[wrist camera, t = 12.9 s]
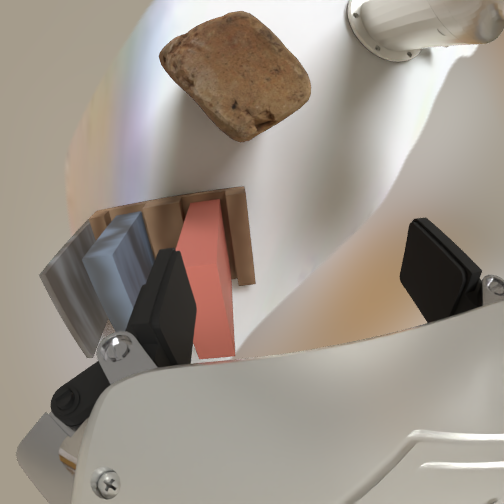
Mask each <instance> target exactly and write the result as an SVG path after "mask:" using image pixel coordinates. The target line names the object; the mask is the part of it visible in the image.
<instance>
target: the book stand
mask: <svg viewBox="0 0 504 504" xmlns="http://www.w3.org/2000/svg"><path fill="white" fill-rule="evenodd" d="M216 199H220V204H221V211H222V217H223V224H224V231H225V237H226V244H227V250H228V257H229V263H230V270H231V279H236V278H238V284H239V286H243V285H251V284H256V282H255V274H254V265H253V256H252V247H251V238H250V229H249V220H248V211H247V202H246V193H245V188H244V186H242V187H234V188H227V189H219V190H212V191H205V192H198V193H191V194H185V195H179V196H173V197H167V198H161V199H155V200H149V201H144V202H139V203H133V204H128V205H123V206H118V207H113V208H108V209H104V210H99V211H96V212H95V213H94V214H93V215H92V216H91V217H90V218H89V219H88V220H87V221H86V222H85V223H84V224H83V225H82V226H81V227H80V229H79V230H78V231H77V232H76V233H75V234H74V235H73V236H72V237H71V238H70V239H69V240H68V242H67V243H66V244H65V245H64V246H63V247H62V248H61V250H60V251H59V252H58V253H57V254H56V255H55V256H54V258H53V259H52V260H51V261H50V262H49V264H48V265H47V266H46V267H45V269H44V270H43V271H42V272H41V273H40V275H39V276H40V278H41V280H42V282H43V284H44V286H45V288H46V290H47V292H48V294H49V296H50V298H51V300H52V301H53V303H54V305H55V307H56V309H57V311H58V312H59V314H60V316H61V318H62V319H63V321H64V323H65V324H66V326H67V328H68V329H69V331H70V333H71V334H72V336H73V337H74V339H75V340H76V342H77V344H78V345H79V347H80V348H81V350H82V351H83V353H84V354H85V355H86V357H87V358H93V356H94V354H95V351H96V348H97V346H98V343H99V340H100V338H101V335H102V333H103V330H104V328H105V325H106V323H107V320H108V318H109V320H110V322H111V324H112V326H113V328H114V330H115V331H116V332H119V331H125V330H126V327H127V324H128V322H129V319H130V316H131V313H132V310H133V308H134V305H135V302H136V300H137V297H138V295H139V292H140V289H141V287H142V285H144V284H146V282H147V279H148V276H149V274H150V271H151V269H152V266H153V264H154V261H155V259H156V256H157V254H158V252H159V250H160V249H167V248H175V250H176V247H177V243H178V240H179V237H180V234H181V230H182V227H183V224H184V221H185V218H186V215H187V212H188V209H189V206H190V203H194V202H202V201H209V200H216Z"/></svg>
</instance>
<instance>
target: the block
mask: <svg viewBox="0 0 504 504" xmlns="http://www.w3.org/2000/svg"><path fill="white" fill-rule="evenodd" d="M159 59H160V62H161V65H162V66H163V68H164V69H165V71H166V72H167V73H168V74H169V76H170V77H171V78H172V79H173V80H174V81H175V83H177V84H178V85H179V86H180V87H181V88H182V89H183V90H184V91H185V92H186V93H188V94H189V95H190V96H191V97H192V98H193V99H194V100H195V102H196V103H197V104H198V105H199V106H200V107H201V108H202V110H203V111H204V112H205V113H206V114H207V116H208V117H209V118H210V119H211V120H212V121H213V122H214V123H215V124H216V126H217V127H218V128H219V129H220V130H221V131H223V132H224V133H225V134H227V135H228V136H229V137H230V138H232V139H233V140H235V141H238V142H245V141H249V140H251V139H252V138H254V137H255V136H257V135H259V134H260V133H262V132H264V131H266V130H267V129H269V128H271V127H272V126H274V125H276V124H278V123H279V122H281V121H282V120H284V119H285V118H287V117H288V116H290V115H291V114H293V113H294V112H295V111H297V110H298V109H300V108H301V107H302V106H303V105H304V104H305V103H306V102H307V101H308V100H309V97H310V95H311V83H310V79H309V76H308V74H307V72H306V71H305V69H304V68H303V66H302V65H301V63H300V62H299V61H298V59H297V58H296V57H295V56H294V55H293V54H292V53H291V52H290V51H289V50H288V49H287V48H286V47H285V46H284V44H283V43H282V42H281V41H280V40H279V38H278V37H277V36H276V35H275V34H274V33H273V32H272V31H271V30H270V29H269V28H268V27H266V26H265V25H264V24H263V23H261V22H260V21H259V20H258V19H257V18H256V17H254V16H253V15H251V14H250V13H247V12H244V11H237V12H231V13H228V14H226V15H224V16H222V17H218V18H215V19H212V20H209V21H206V22H204V23H202V24H200V25H198V26H196V27H194V28H193V29H191V30H190V31H188V33H186V34H183V35H181V36H178V37H176V38H174V39H173V40H171V41H170V42H169V43H168V44H167V45H166V46H165V47H164V48H163V49H162V51H161V52H160V54H159Z"/></svg>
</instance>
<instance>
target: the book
mask: <svg viewBox="0 0 504 504" xmlns="http://www.w3.org/2000/svg"><path fill="white" fill-rule="evenodd" d="M176 251H180V252H181V255H182V259H183V262H184V266H185V269H186V273H187V276H188V279H189V283H190V286H191V289H192V292H193V296H194V299H195V302H196V306H197V314H196V322H195V329H194V337H193V343H194V346H195V349H196V352H197V354H198V357H199V359H208V358H220V357H230V356H235V343H234V324H233V304H232V281H231V270H230V263H229V257H228V250H227V244H226V237H225V231H224V224H223V217H222V211H221V204H220V199H216V200H209V201H202V202H194V203H190V206H189V209H188V212H187V215H186V218H185V221H184V224H183V227H182V230H181V234H180V237H179V240H178V243H177V247H176Z"/></svg>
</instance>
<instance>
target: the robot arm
mask: <svg viewBox="0 0 504 504" xmlns="http://www.w3.org/2000/svg"><path fill="white" fill-rule="evenodd" d="M348 19H349V22H350V26H351V28H352V30H353V32H354V33H355V35H356V36H357V38H358V39H359V41H360V42H361V43H362V44H363V45H364V46H365V47H366V48H367V49H368V50H370V51H371V52H372V53H374V54H375V55H377V56H379V57H381V58H383V59H385V60H389V61H395V62H401V61H407V60H411V59H412V58H414V57H416V56H417V55H418V54H419V53H420V51H421V49H422V48H429V47H439V46H443V47H448V46H451V45H470V44H487V43H490V42H492V41H494V40H495V39H497V38H498V37H499V35H500V34H501V33H502V31H503V29H504V0H350V1H349V4H348ZM375 48H376V49H375ZM481 273H482V270H481V269H480V268H479V267H478V266H477V265H476V264H475V263H474V262H473V261H472V260H471V259H470V258H469V257H468V256H467V255H466V254H465V253H464V252H463V251H462V250H461V249H460V248H459V247H458V246H457V245H456V244H455V243H454V242H453V241H452V240H451V239H450V238H448V237H447V236H446V235H445V234H444V233H443V232H442V231H441V230H440V229H439V228H437V227H436V226H435V225H434V224H433V223H432V222H431V221H429V220H428V219H427V218H419V219H414V220H413V221H412V223H410V225H409V230H408V237H407V242H406V247H405V253H404V258H403V262H402V267H401V272H400V281H401V283H402V285H403V286H404V288H405V289H406V290H407V292H408V293H409V295H410V296H411V298H412V299H413V301H414V302H415V304H416V305H417V307H418V308H419V310H420V312H421V313H422V315H423V316H424V318H425V319H426V321H427V324H423V325H420V326H416V327H413V328H409V329H405V330H401V331H397V332H393V333H389V334H385V335H380V336H376V337H372V338H367V339H363V340H358V341H353V342H349V343H344V344H338V345H333V346H328V347H322V348H317V349H311V350H305V351H298V352H292V353H285V354H278V355H271V356H263V357H254V358H245V359H237V360H226V361H215V362H205V363H194V364H190V363H191V354H192V346H193V337H194V329H195V322H196V314H197V306H196V302H195V299H194V296H193V292H192V289H191V286H190V283H189V279H188V276H187V273H186V269H185V266H184V262H183V259H182V255H181V252H180V251H176V250H175V248H167V249H160V250H159V252H158V254H157V256H156V259H155V261H154V264H153V266H152V269H151V271H150V274H149V276H148V279H147V282H146V284H144V285H142V287H141V289H140V292H139V295H138V297H137V300H136V302H135V305H134V308H133V310H132V313H131V316H130V319H129V322H128V324H127V327H126V330H125V331H119V332H115V333H112V334H110V335H108V336H107V337H106V338H104V339H103V340H102V341H101V343H100V344H99V346H98V348H97V354H96V355H97V358H98V362H96V363H95V364H93V365H92V366H90V367H89V368H87V369H86V370H85V371H83V372H82V373H80V374H79V375H77V376H76V377H75V378H73V379H72V380H70V381H69V382H68V383H66V384H64V385H63V386H61V387H60V388H59V389H58V390H57V391H56V392H55V394H54V395H53V397H52V400H51V410H52V411H51V412H50V413H49V414H48V413H46V412H45V413H44V415H43V416H42V417H41V418H40V419H39V421H38V422H37V423H36V424H35V425H34V427H33V428H32V429H31V430H30V431H29V433H28V434H27V435H26V436H25V438H24V439H23V440H22V441H21V442H20V444H19V446H18V448H17V452H16V456H17V461H18V463H19V465H20V466H21V468H22V469H23V470H24V472H25V473H26V475H27V476H28V477H29V479H30V480H31V481H32V482H33V484H34V485H35V486H36V488H37V489H38V490H39V492H40V493H41V494H42V495H43V497H44V498H45V499H46V500H47V501H48V502H49V503H50V504H504V280H503V279H502V278H500V277H498V276H495V275H487V276H485V277H484V278H483V279H482V281H481V280H480V275H481Z"/></svg>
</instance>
